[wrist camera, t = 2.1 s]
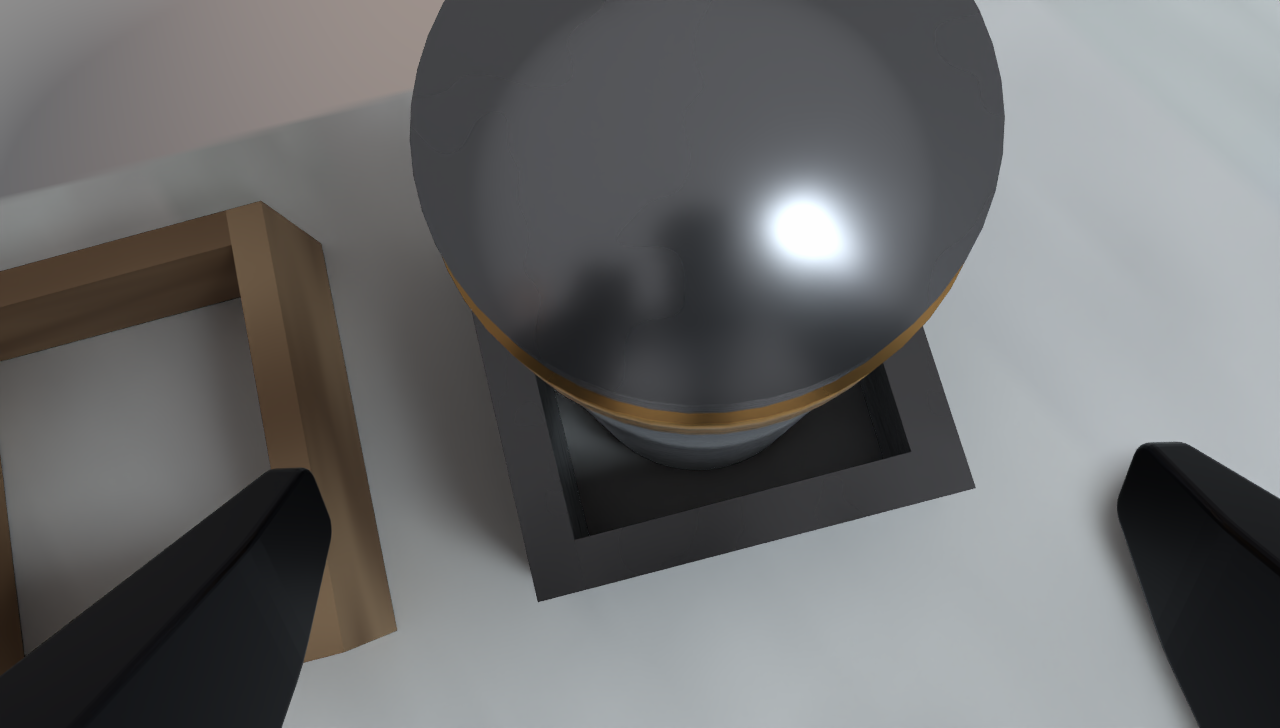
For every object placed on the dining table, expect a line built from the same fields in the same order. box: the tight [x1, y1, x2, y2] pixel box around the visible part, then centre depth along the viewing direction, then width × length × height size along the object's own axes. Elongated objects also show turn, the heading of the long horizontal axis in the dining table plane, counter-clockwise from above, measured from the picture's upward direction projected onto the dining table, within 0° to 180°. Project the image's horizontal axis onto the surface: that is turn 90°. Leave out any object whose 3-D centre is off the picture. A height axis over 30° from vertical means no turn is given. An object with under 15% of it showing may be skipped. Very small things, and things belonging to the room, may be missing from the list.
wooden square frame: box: [0, 201, 397, 676], centre depth 19 cm, size 10×10×3 cm
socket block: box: [472, 311, 976, 602], centre depth 19 cm, size 9×9×2 cm
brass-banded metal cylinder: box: [410, 0, 1005, 470], centre depth 14 cm, size 6×6×12 cm
